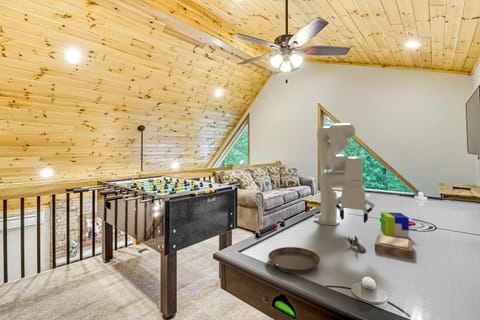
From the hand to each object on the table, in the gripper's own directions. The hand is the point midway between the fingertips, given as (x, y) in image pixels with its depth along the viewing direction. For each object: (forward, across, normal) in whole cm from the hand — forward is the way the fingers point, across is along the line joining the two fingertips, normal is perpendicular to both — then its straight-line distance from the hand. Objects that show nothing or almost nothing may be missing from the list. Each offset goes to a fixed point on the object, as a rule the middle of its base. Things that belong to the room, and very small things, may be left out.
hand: (353, 220), depth 114 cm
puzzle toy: (+13, +15, +35) cm, 40 cm away
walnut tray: (+13, +16, +9) cm, 22 cm away
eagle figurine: (+14, +1, 0) cm, 14 cm away
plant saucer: (+14, -18, -29) cm, 37 cm away
